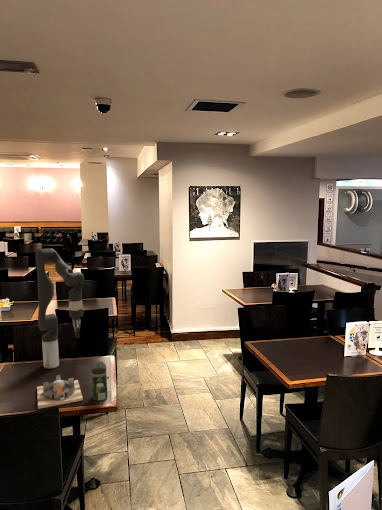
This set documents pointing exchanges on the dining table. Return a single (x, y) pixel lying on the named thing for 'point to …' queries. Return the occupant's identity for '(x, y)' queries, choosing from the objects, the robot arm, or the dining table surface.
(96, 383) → the coffee jar
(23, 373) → the dining table surface
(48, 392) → the ring nut
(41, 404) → the base plate
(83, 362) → the dining table surface
